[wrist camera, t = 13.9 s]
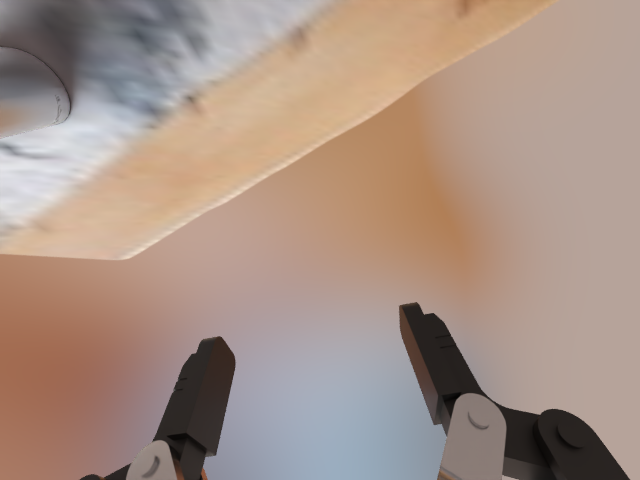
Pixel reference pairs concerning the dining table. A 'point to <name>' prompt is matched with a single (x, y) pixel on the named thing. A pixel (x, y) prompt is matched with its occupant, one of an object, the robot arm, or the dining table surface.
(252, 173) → the dining table surface
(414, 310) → the robot arm
